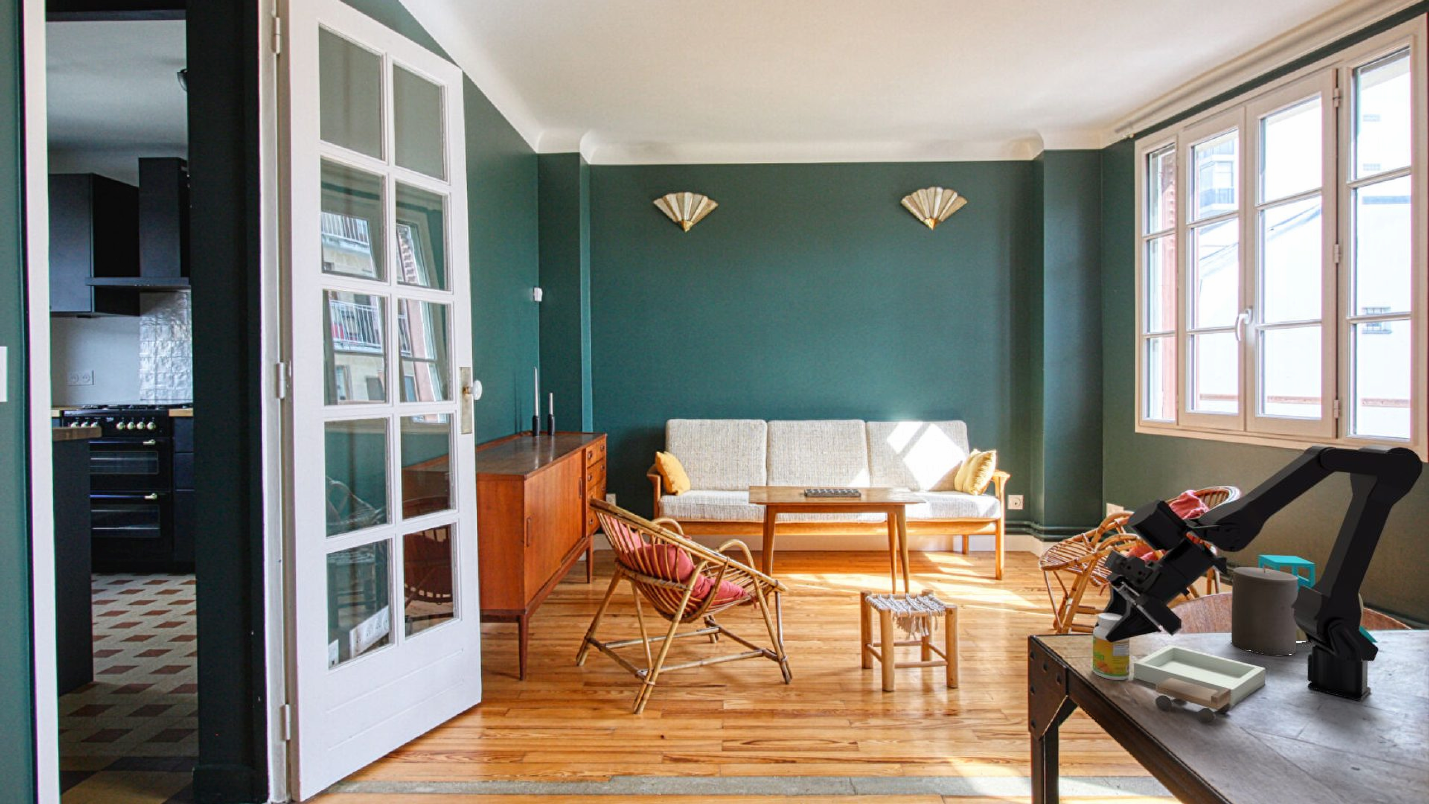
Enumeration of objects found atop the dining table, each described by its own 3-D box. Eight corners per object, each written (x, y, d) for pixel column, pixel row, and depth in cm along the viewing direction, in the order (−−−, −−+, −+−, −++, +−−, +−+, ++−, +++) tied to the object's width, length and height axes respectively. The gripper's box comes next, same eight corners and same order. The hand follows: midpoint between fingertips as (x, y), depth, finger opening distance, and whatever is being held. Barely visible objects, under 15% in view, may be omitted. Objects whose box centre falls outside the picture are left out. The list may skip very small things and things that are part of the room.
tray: (1265, 683, 120) (1265, 668, 120) (1232, 706, 112) (1232, 689, 111) (1170, 658, 131) (1170, 644, 131) (1133, 677, 123) (1134, 662, 123)
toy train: (1380, 649, 136) (1381, 567, 136) (1277, 643, 140) (1278, 563, 139) (1353, 635, 144) (1354, 557, 144) (1256, 629, 147) (1256, 554, 147)
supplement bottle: (1085, 669, 127) (1086, 611, 126) (1116, 667, 127) (1116, 611, 127) (1105, 681, 121) (1105, 621, 121) (1136, 680, 122) (1137, 620, 121)
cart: (1232, 714, 109) (1232, 687, 109) (1215, 726, 105) (1215, 699, 105) (1172, 696, 115) (1172, 671, 115) (1153, 707, 111) (1153, 681, 111)
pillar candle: (1232, 650, 135) (1234, 568, 135) (1229, 634, 144) (1231, 557, 143) (1300, 661, 130) (1302, 575, 130) (1292, 644, 139) (1295, 564, 138)
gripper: (1118, 525, 132) (1051, 584, 134) (1159, 547, 114) (1080, 615, 116) (1167, 571, 131) (1098, 630, 133) (1216, 601, 112) (1136, 669, 115)
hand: (1101, 634), depth 124 cm, fingers closed on supplement bottle, 5 cm apart
